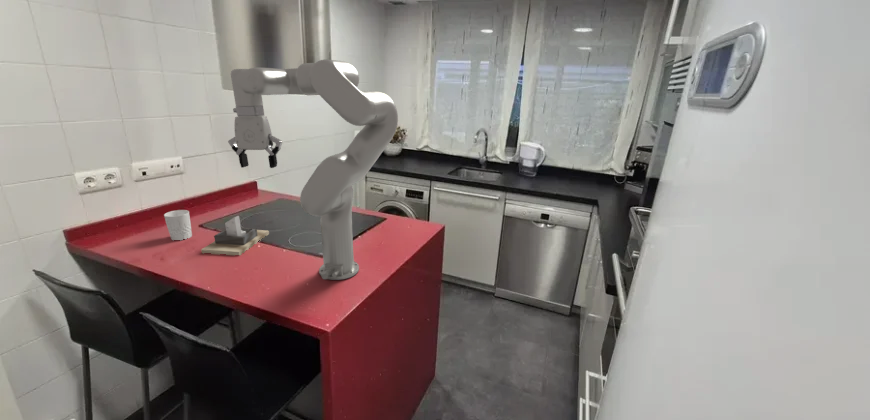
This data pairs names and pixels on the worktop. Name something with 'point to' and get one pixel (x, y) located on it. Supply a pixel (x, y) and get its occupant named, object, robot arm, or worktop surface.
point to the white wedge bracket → (234, 227)
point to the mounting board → (234, 242)
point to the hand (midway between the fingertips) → (259, 166)
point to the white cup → (178, 224)
